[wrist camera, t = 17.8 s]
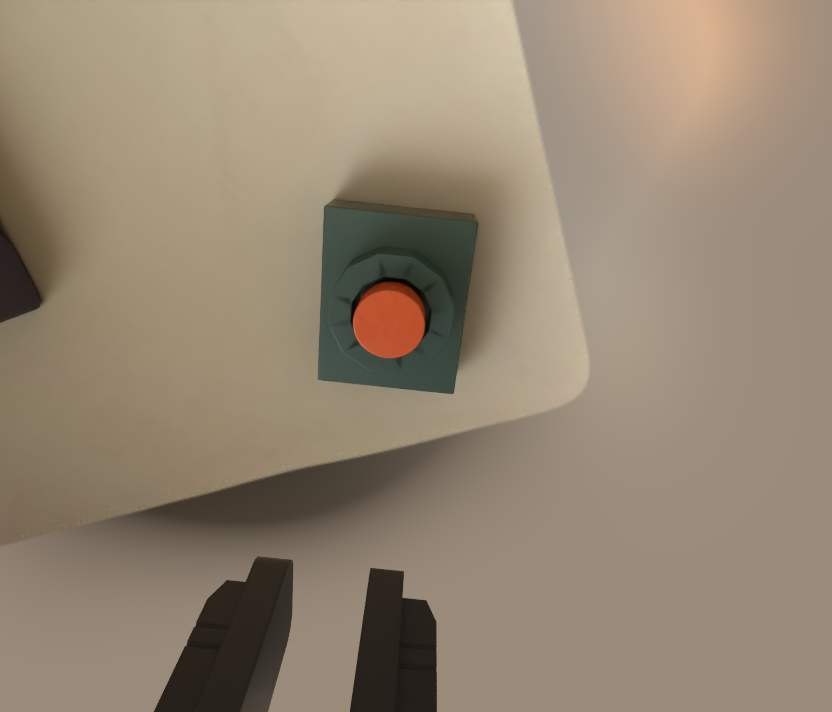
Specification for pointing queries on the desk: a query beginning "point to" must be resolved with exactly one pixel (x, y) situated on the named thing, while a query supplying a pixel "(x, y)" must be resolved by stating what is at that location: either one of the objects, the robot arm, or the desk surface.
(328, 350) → the control block
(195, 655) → the robot arm
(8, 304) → the calculator
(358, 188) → the desk surface
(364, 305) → the orange button
